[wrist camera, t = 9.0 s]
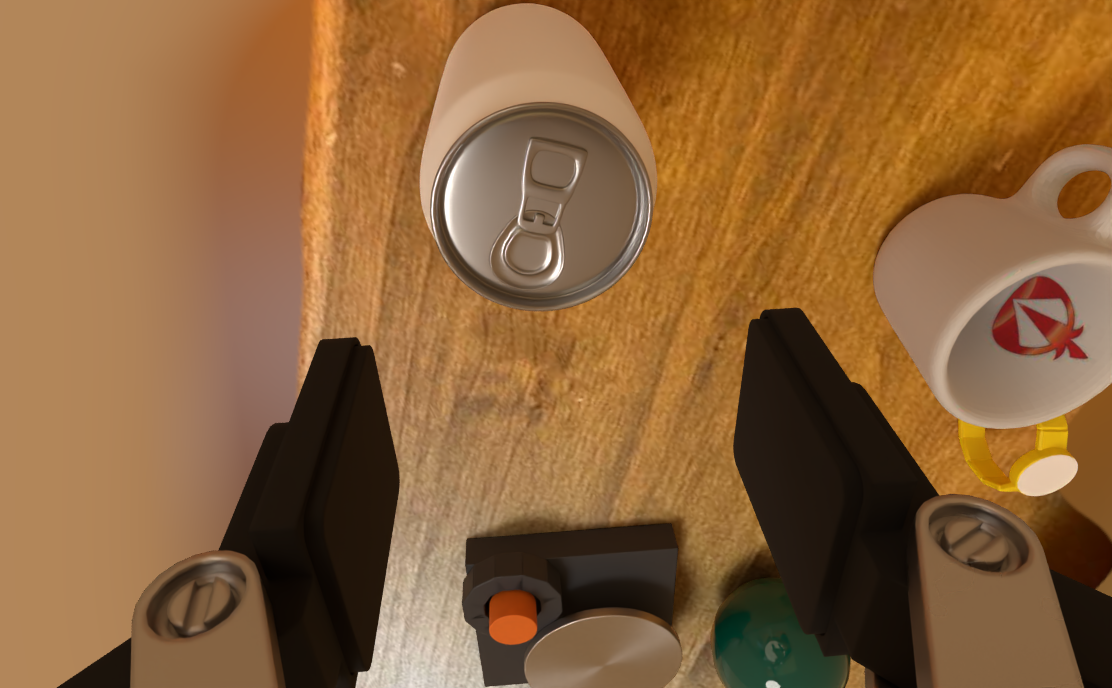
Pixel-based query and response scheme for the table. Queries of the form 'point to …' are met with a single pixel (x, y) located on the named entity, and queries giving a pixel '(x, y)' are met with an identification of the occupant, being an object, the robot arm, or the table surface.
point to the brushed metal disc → (604, 651)
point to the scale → (566, 581)
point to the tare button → (512, 617)
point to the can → (535, 163)
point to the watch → (1023, 460)
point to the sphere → (769, 643)
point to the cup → (1006, 297)
